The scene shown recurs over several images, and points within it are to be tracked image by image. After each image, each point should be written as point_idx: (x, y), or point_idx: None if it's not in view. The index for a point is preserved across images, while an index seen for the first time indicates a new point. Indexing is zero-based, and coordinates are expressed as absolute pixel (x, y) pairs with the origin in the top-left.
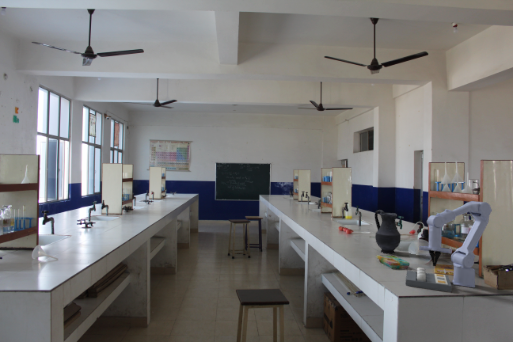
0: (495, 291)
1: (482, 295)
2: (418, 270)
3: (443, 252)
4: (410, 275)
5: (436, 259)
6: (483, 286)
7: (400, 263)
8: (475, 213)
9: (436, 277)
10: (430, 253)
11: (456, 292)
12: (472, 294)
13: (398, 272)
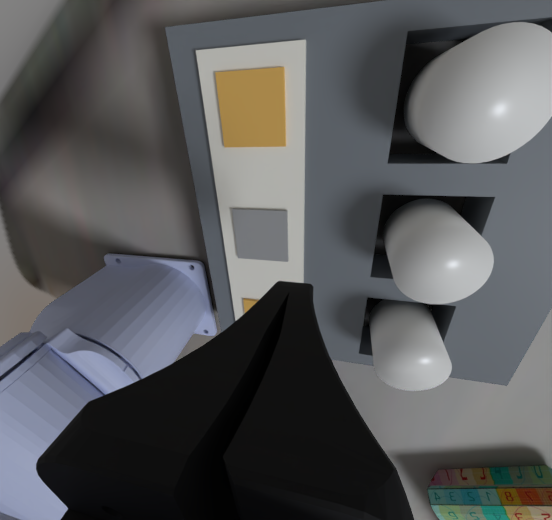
0: (28, 235)
1: (31, 99)
2: (466, 289)
3: (11, 516)
4: (540, 239)
5: (237, 337)
6: None
7: (498, 503)
8: None
9: (292, 257)
10: (374, 486)
11: (164, 64)
12: (75, 82)
13: (527, 406)
